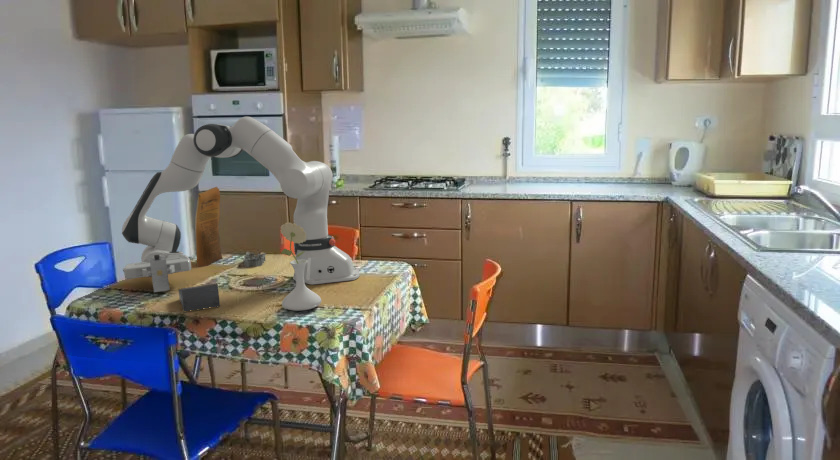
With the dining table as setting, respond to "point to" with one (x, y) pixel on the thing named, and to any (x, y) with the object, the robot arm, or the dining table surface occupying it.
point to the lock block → (159, 273)
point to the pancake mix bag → (208, 227)
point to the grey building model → (253, 259)
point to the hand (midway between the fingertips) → (159, 273)
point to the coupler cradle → (199, 297)
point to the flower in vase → (298, 273)
